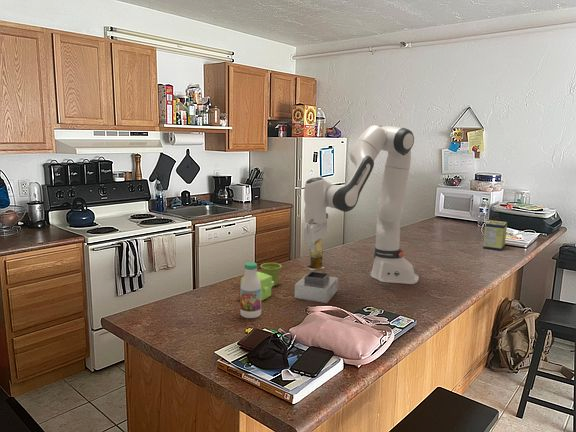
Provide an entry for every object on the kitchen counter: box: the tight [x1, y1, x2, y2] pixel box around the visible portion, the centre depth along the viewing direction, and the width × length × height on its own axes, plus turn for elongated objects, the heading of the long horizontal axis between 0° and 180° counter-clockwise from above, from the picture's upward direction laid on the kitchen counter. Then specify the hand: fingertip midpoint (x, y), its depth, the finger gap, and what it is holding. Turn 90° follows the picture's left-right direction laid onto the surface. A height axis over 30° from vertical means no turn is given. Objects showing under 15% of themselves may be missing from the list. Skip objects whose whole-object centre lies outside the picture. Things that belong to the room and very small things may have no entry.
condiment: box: [303, 249, 326, 271], centre depth 231 cm, size 7×8×12 cm
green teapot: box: [239, 271, 275, 302], centre depth 187 cm, size 18×10×10 cm, turn 147°
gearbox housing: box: [294, 270, 339, 304], centre depth 193 cm, size 14×16×8 cm
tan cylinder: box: [309, 239, 323, 258], centre depth 189 cm, size 5×5×8 cm
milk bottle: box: [239, 261, 262, 319], centre depth 169 cm, size 8×8×20 cm
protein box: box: [482, 219, 508, 252], centre depth 279 cm, size 10×16×16 cm
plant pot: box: [260, 262, 282, 287], centre depth 205 cm, size 9×9×9 cm
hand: (315, 249), depth 189 cm, fingers closed on tan cylinder, 5 cm apart
